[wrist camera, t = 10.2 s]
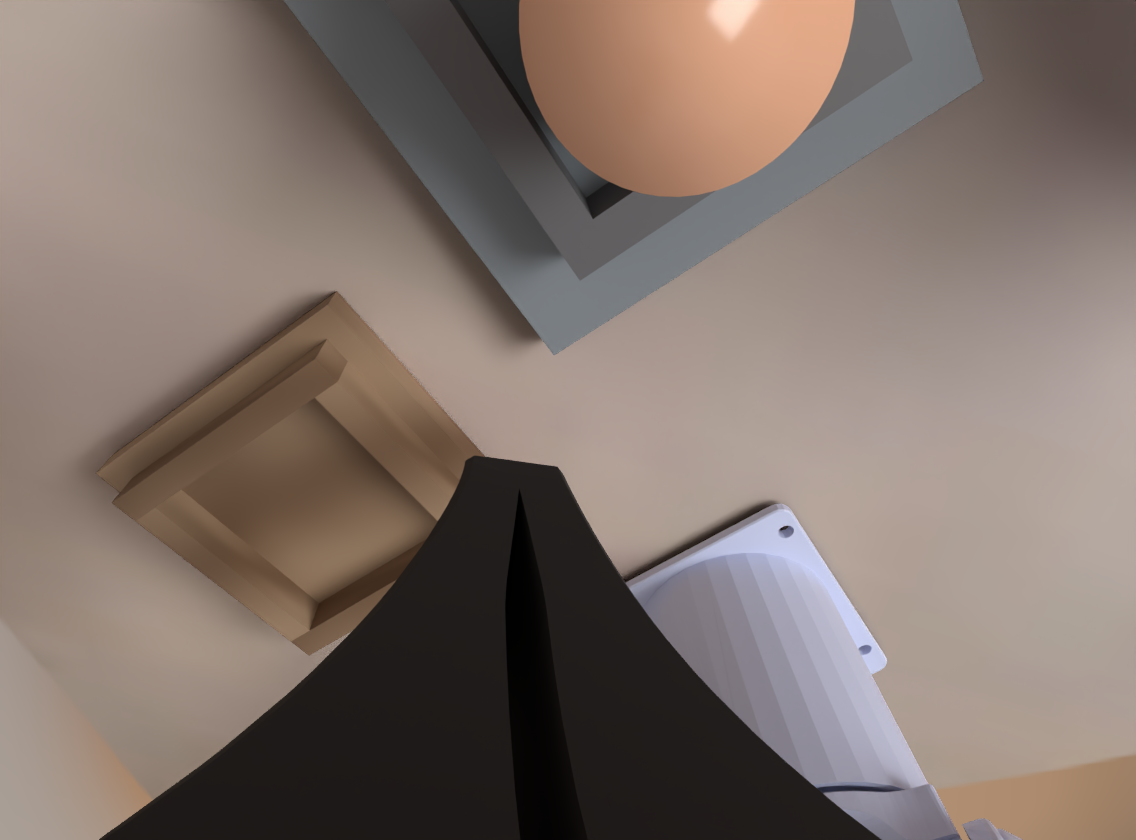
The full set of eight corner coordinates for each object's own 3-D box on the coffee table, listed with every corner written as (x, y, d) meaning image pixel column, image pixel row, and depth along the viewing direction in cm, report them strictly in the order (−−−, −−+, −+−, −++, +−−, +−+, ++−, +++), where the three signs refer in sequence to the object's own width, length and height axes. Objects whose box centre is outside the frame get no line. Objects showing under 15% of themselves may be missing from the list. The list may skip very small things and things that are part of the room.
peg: (744, -94, 14) (903, -166, 8) (702, 135, 17) (804, 209, 11) (528, -123, 14) (532, -221, 8) (514, 117, 16) (508, 182, 10)
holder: (530, 506, 23) (530, 550, 21) (324, 626, 25) (308, 676, 24) (336, 290, 19) (316, 322, 17) (112, 454, 21) (73, 498, 20)
